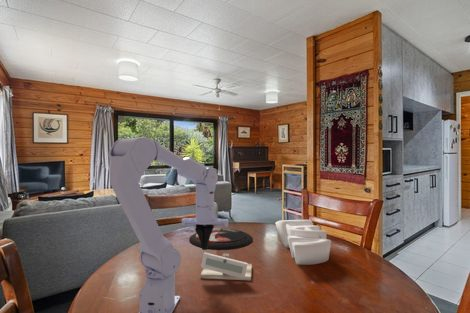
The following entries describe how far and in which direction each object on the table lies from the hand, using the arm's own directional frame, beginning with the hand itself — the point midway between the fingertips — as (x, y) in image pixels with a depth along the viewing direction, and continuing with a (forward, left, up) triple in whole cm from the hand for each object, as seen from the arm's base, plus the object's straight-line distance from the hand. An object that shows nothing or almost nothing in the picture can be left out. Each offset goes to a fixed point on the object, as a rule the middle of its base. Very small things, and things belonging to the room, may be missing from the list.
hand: (205, 248), depth 76 cm
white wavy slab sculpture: (+26, -34, -10) cm, 44 cm away
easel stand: (+5, -6, -10) cm, 13 cm away
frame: (0, -6, -7) cm, 9 cm away
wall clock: (+38, +1, -10) cm, 39 cm away
